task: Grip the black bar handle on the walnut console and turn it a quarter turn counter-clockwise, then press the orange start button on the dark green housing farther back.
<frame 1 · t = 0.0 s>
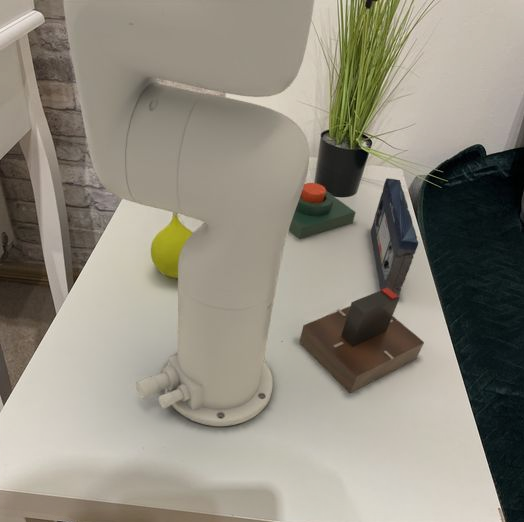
button: (313, 193, 88), point 4 cm above the table, slide at 0.1 cm
electric trimmer: (218, 215, 88), on the table
ornament: (176, 273, 75), on the table
knob: (370, 316, 64), point 6 cm above the table, hinge at 0.0°
button box: (308, 216, 91), on the table
console: (358, 350, 68), on the table
vhs cassette tape: (382, 264, 84), on the table
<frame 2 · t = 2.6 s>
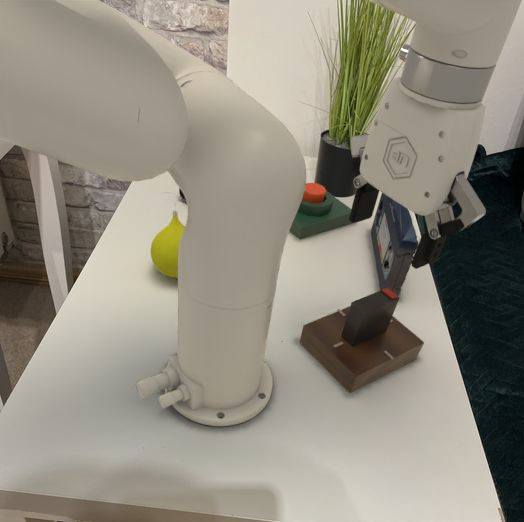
hand: (389, 240, 58), 16 cm above the table, tool pointing down, fingers open, 9 cm apart
nothing on the table moved.
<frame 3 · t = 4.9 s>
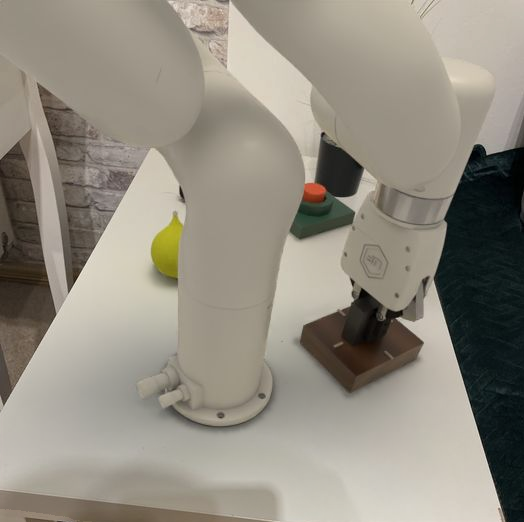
hand: (365, 329, 66), 4 cm above the table, tool pointing down, fingers closed on knob, 2 cm apart
knob: (370, 316, 64), point 6 cm above the table, hinge at -0.1°, touching gripper
everything else where it was.
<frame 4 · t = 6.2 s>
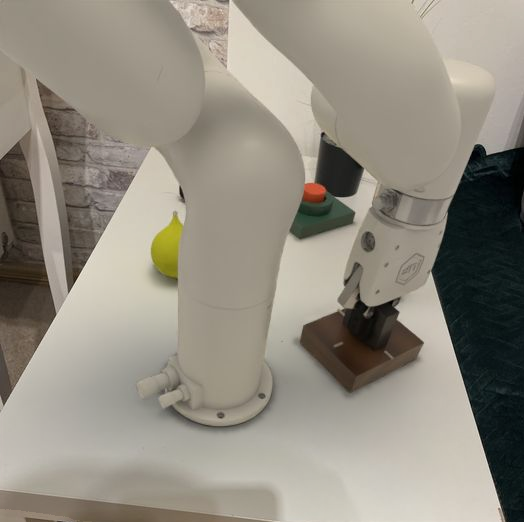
hand: (365, 329, 66), 4 cm above the table, tool pointing down, fingers closed on knob, 2 cm apart
knob: (370, 316, 64), point 6 cm above the table, hinge at 89.5°, touching gripper
everything else where it was.
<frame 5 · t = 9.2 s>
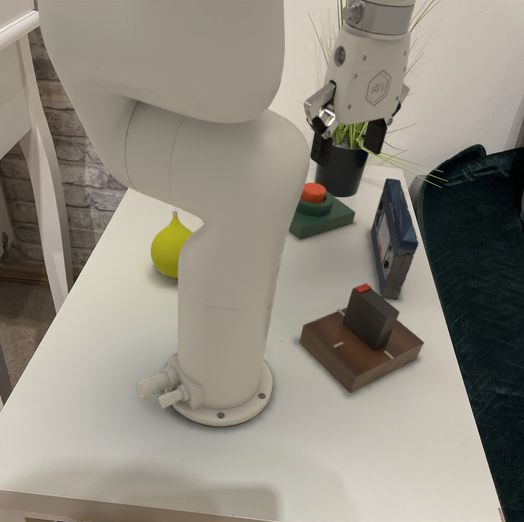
hand: (345, 156, 73), 16 cm above the table, tool pointing down, fingers open, 9 cm apart
knob: (370, 316, 64), point 6 cm above the table, hinge at 89.5°
everything else where it was.
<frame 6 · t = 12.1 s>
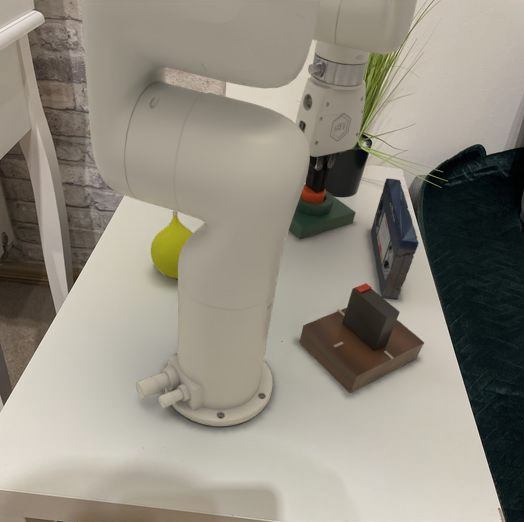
hand: (314, 188, 87), 5 cm above the table, tool pointing down, fingers closed
button: (313, 193, 88), point 4 cm above the table, slide at 0.0 cm, touching gripper
everything else where it was.
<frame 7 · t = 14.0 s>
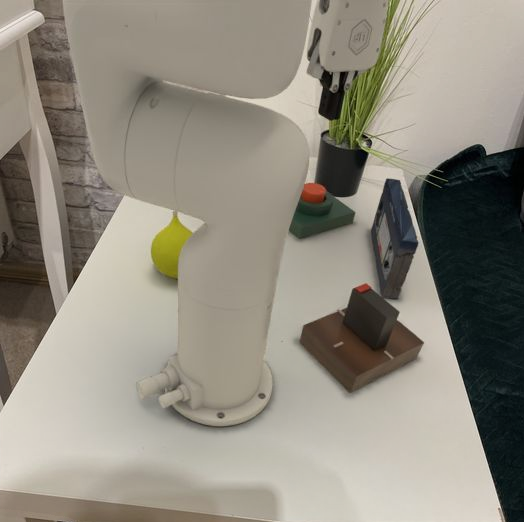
hand: (328, 116, 78), 17 cm above the table, tool pointing down, fingers closed
button: (313, 193, 88), point 4 cm above the table, slide at 0.1 cm
everything else where it was.
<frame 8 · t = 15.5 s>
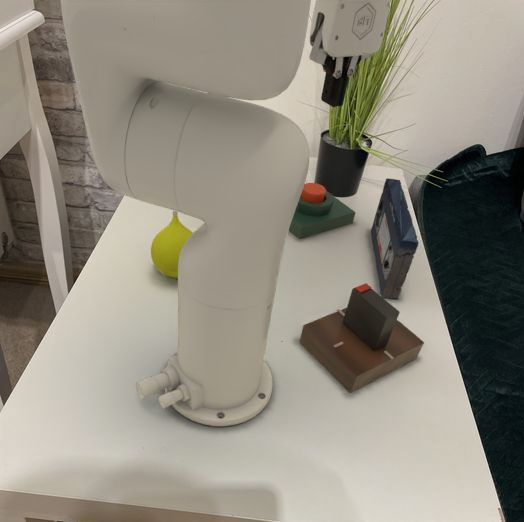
hand: (331, 103, 77), 19 cm above the table, tool pointing down, fingers closed
nothing on the table moved.
at the end: knob at +90° (first picture: +0°); button pushed in 1.1 cm at the most during the clip, back to where it started at the end; button slide at 0.1 cm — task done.
